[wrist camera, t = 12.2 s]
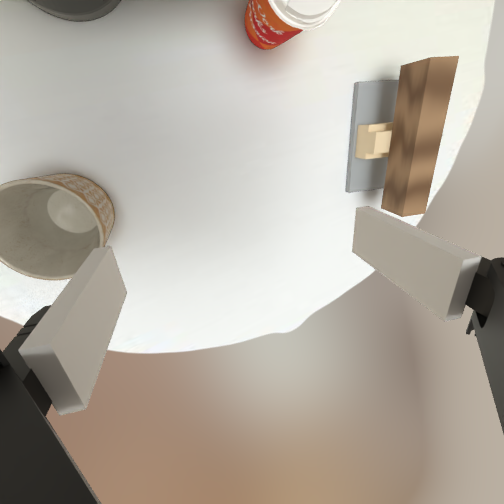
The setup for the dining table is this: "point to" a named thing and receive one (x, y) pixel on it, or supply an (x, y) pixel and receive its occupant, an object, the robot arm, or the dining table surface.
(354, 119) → the fulcrum
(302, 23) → the coffee cup
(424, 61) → the bar
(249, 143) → the dining table surface
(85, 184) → the planter
